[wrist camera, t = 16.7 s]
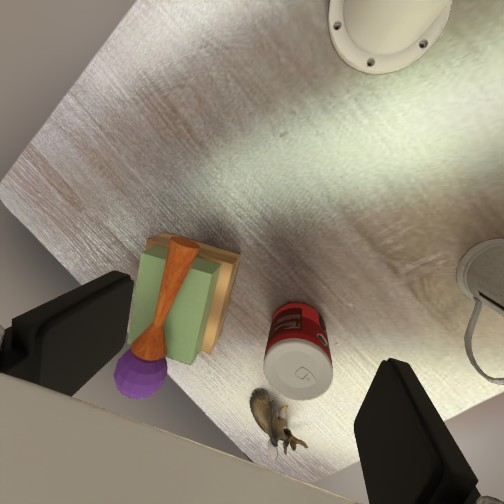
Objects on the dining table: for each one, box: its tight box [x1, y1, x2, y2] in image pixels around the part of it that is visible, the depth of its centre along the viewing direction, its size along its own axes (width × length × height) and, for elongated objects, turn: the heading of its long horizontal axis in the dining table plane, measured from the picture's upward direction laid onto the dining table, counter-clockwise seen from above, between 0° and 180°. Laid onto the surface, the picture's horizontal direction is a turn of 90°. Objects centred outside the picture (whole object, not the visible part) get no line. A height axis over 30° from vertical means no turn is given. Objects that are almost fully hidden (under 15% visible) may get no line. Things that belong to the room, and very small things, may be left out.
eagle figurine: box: [250, 389, 308, 459], centre depth 44 cm, size 8×7×9 cm
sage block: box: [128, 245, 221, 365], centre depth 37 cm, size 13×9×4 cm
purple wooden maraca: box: [114, 236, 200, 399], centre depth 33 cm, size 6×6×20 cm
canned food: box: [264, 303, 333, 401], centre depth 37 cm, size 8×8×11 cm
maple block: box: [146, 232, 241, 354], centre depth 41 cm, size 14×12×5 cm
